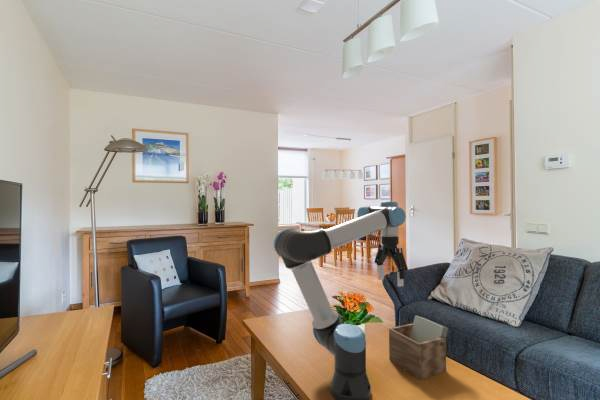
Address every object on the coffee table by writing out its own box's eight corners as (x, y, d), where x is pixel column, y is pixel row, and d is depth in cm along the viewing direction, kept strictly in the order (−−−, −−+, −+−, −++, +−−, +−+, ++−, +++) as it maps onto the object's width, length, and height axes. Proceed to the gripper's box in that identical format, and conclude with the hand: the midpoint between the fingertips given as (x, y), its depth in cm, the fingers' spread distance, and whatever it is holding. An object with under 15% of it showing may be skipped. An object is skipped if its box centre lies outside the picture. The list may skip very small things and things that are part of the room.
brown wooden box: (420, 380, 128) (420, 345, 128) (388, 359, 146) (388, 328, 146) (447, 371, 134) (446, 338, 134) (413, 352, 152) (413, 322, 152)
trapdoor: (439, 370, 135) (431, 368, 134) (413, 354, 149) (405, 353, 147) (449, 328, 138) (441, 326, 136) (422, 317, 152) (415, 315, 150)
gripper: (416, 238, 136) (416, 288, 136) (379, 232, 159) (380, 275, 159) (401, 239, 133) (402, 290, 133) (366, 233, 156) (367, 277, 156)
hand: (390, 282), depth 146 cm, fingers open, 13 cm apart
